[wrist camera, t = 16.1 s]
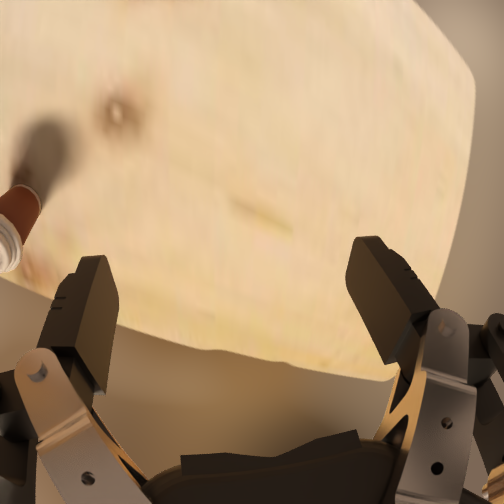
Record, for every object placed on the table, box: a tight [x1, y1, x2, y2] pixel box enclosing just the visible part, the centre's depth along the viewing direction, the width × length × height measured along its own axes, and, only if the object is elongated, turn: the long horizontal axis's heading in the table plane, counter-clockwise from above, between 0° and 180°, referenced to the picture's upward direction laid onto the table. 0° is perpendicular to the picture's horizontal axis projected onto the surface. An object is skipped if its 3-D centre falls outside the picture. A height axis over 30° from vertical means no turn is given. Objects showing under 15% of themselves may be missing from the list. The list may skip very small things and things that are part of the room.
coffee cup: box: [0, 184, 41, 273], centre depth 33 cm, size 9×9×12 cm
